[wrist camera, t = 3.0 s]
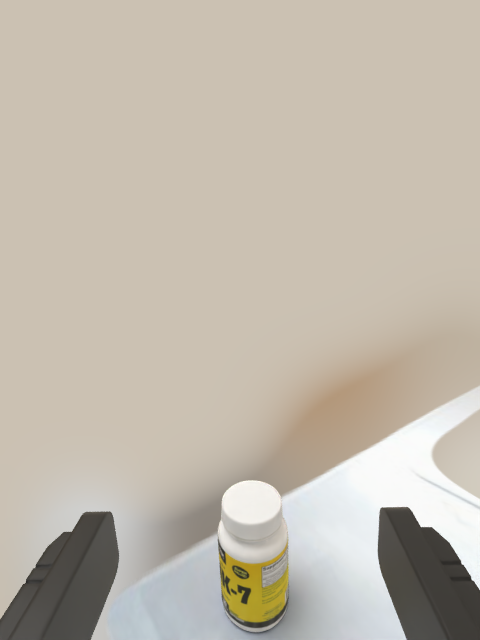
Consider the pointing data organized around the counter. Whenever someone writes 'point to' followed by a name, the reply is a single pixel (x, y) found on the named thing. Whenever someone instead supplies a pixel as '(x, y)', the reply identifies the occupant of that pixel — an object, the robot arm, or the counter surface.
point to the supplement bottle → (253, 556)
